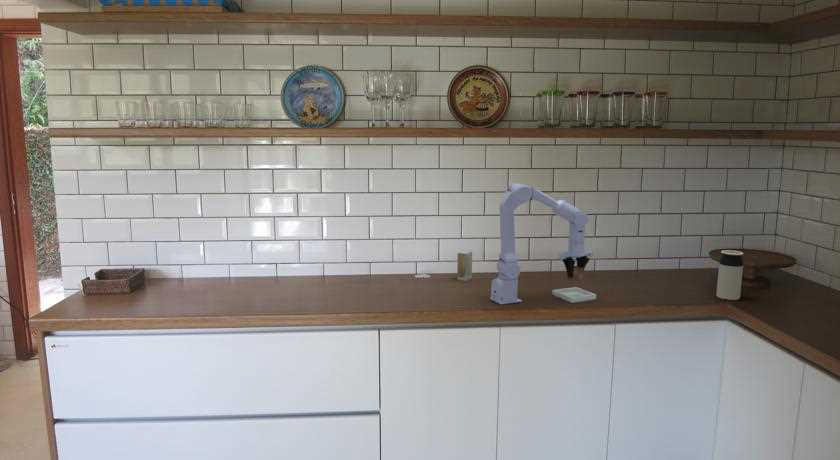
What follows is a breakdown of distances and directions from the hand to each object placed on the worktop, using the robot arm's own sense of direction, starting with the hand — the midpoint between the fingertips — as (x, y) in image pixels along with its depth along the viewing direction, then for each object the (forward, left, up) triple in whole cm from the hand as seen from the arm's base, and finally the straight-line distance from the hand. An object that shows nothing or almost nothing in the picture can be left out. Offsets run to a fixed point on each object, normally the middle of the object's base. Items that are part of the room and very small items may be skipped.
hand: (574, 276), depth 212 cm
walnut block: (0, 0, -2) cm, 2 cm away
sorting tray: (0, 0, -8) cm, 8 cm away
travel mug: (+55, -23, -9) cm, 60 cm away
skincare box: (-26, +41, -9) cm, 49 cm away
